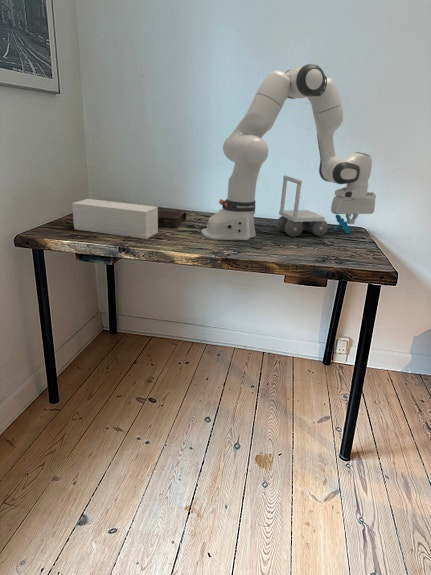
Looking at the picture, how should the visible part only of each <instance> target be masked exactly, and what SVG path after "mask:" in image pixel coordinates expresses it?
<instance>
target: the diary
mask: <svg viewBox="0 0 431 575" xmlns="http://www.w3.org/2000/svg"><path fill="white" fill-rule="evenodd" d="M157 210H158V216H157V217H158V221H157V222H158V223H157V224H158V228H165V229H177V230H178V229H179V228H180V227H181V225H182V222H184V221H186V220H187V211H186V210H185V211H184V210H183V211H182V210H168V209H167V210H166V209H159V208H158V209H157Z"/></svg>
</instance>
